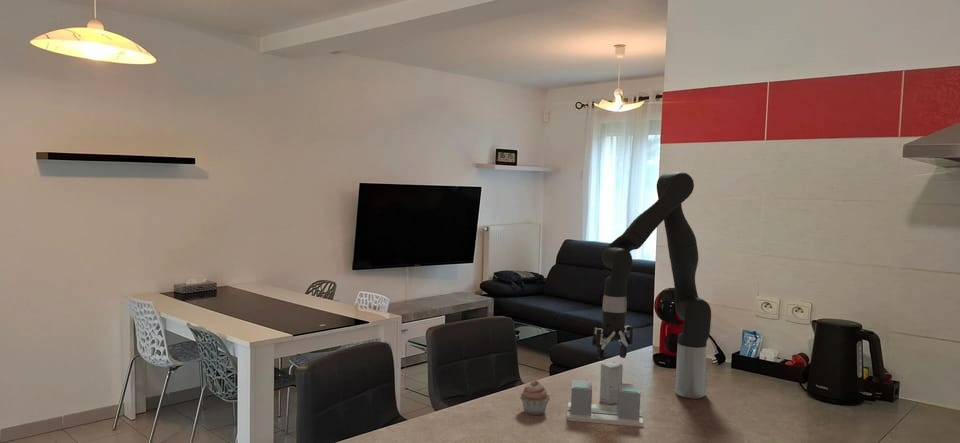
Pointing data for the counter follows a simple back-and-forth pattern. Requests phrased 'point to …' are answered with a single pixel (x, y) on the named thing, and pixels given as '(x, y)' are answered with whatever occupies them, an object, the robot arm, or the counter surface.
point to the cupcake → (534, 398)
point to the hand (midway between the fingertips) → (611, 358)
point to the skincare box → (610, 381)
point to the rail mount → (618, 415)
